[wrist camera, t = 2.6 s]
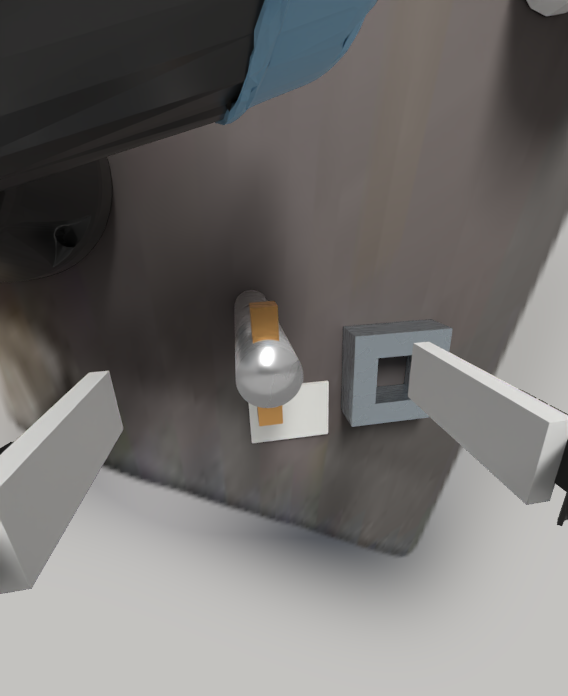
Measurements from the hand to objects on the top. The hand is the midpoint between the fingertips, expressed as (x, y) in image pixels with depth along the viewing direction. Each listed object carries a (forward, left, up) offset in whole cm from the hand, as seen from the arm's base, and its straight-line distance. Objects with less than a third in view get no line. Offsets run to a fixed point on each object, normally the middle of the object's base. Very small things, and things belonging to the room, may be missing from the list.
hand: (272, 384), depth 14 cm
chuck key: (0, 0, -15) cm, 15 cm away
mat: (+3, -11, -15) cm, 19 cm away
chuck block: (+13, -7, -15) cm, 21 cm away
